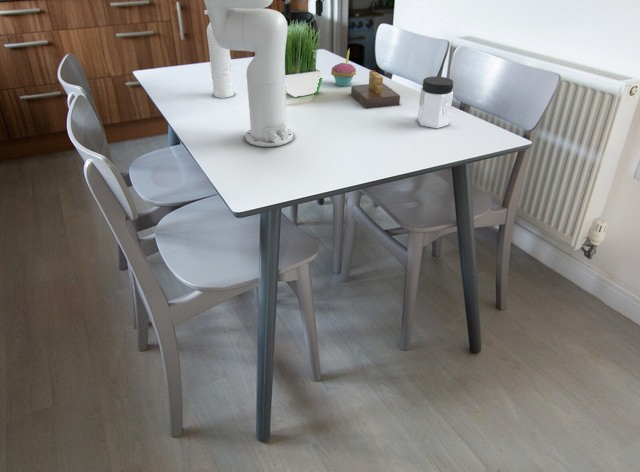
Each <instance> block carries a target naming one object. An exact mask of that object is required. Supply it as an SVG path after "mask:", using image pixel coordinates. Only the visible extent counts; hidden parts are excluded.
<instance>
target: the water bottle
mask: <svg viewBox="0 0 640 472" xmlns="http://www.w3.org/2000/svg"><path fill="white" fill-rule="evenodd" d="M203 13H204V15H207V16H208V12H207V9H205V10H203ZM206 38H207V45H208V55H209V62H210V63H209V64H210V72H211V81H212V91H213V96H214V97H216V98H221V99H226V98H231V97H233V96H234V94H235V90H234V81H233V71H232V58H231V57H232V56H231V50H227V49H223V48H222V47H220V46H219V45H218V43H217V41H216V39H215V36H214V33H213V30H212V26H211V23H210V22H209V23H208V25H207V27H206Z"/></svg>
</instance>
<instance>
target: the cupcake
mask: <svg viewBox="0 0 640 472" xmlns="http://www.w3.org/2000/svg"><path fill="white" fill-rule="evenodd" d="M350 49H351V48H350V47H349V48H348V50H347V53H346V60H345V62H340V63H337V64H335V65H333V66H332V67H331V71H330V75H332V76H333V77H334V80H335V84H336V86H339V87H349V86H350V85H351V83H352V80H353V78H354V76H356V74H357V70H356V69H357V68H356V67H355V66H354V65H352V64H351V63H349V58H350V51H351V50H350Z"/></svg>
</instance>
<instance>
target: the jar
mask: <svg viewBox="0 0 640 472" xmlns="http://www.w3.org/2000/svg"><path fill="white" fill-rule="evenodd" d="M453 89H454V80H453V79H451V78H450V77H449V78H448V77H445V76H427V77H424V78H423V80H422V87H420V94H419V105H418V111H417V121H418V123H419V124H420V126H422V127H427V128H432V129H433V128H434V129H439V128H443V127H446V126H449V123H450V117H451V111H452V105H453V98H454V91H453Z"/></svg>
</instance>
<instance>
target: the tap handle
mask: <svg viewBox="0 0 640 472" xmlns="http://www.w3.org/2000/svg"><path fill="white" fill-rule="evenodd" d="M368 84H369V88H370V89H371V90H373V91H374V92H375V93H376V94H380V93H382V86H383V84H384V77H383V76H382V75H381V74H380V73H378V72H377V71H376V70H369V73H368Z"/></svg>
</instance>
